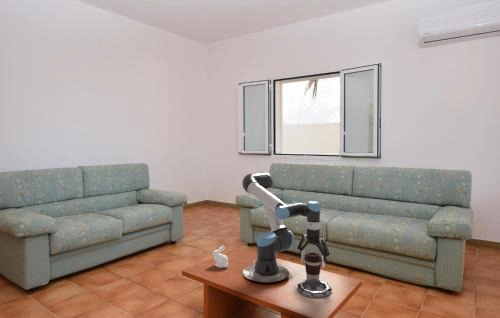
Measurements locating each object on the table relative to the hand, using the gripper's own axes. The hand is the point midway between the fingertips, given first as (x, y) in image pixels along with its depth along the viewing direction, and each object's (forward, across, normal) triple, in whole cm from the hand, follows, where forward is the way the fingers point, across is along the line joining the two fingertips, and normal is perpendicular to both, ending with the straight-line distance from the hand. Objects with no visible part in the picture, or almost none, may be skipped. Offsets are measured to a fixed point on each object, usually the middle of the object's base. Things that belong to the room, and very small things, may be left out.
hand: (312, 264), depth 187 cm
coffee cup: (+9, 0, 0) cm, 9 cm away
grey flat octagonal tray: (+9, +7, -11) cm, 16 cm away
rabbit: (+9, -57, -20) cm, 61 cm away
